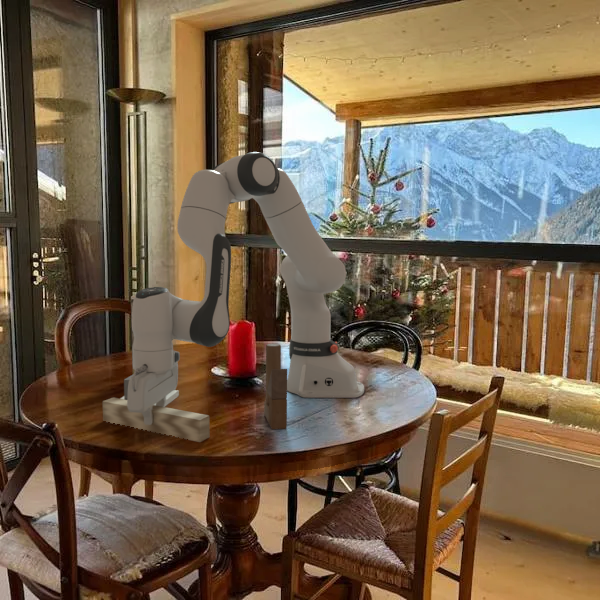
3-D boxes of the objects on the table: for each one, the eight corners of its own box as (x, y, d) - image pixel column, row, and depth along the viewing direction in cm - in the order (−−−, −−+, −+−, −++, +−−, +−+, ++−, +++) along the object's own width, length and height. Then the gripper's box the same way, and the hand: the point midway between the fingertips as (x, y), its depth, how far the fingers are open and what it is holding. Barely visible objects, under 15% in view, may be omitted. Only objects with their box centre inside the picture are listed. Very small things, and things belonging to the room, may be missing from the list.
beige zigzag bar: (209, 437, 131) (209, 415, 130) (199, 442, 128) (199, 420, 127) (114, 417, 143) (113, 397, 143) (103, 421, 140) (102, 401, 140)
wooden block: (271, 430, 136) (271, 352, 133) (264, 415, 146) (264, 343, 144) (287, 429, 137) (288, 352, 134) (278, 414, 147) (279, 342, 145)
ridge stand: (178, 395, 162) (178, 365, 161) (152, 416, 144) (151, 382, 143) (137, 393, 164) (136, 362, 163) (105, 413, 146) (104, 379, 145)
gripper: (147, 372, 123) (148, 436, 125) (182, 351, 143) (183, 407, 145) (118, 370, 124) (120, 434, 126) (157, 350, 144) (158, 405, 146)
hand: (154, 419), depth 135 cm, fingers closed on beige zigzag bar, 4 cm apart
